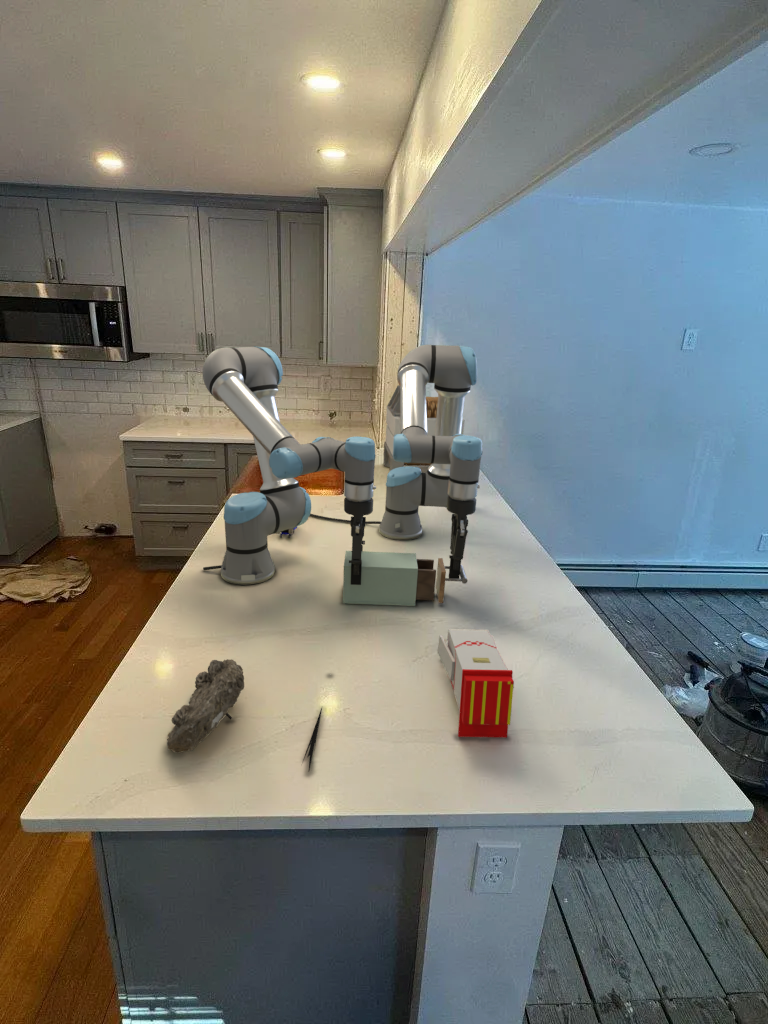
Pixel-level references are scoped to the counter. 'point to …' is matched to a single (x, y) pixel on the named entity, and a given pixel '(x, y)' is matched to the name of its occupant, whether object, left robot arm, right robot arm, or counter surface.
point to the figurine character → (287, 532)
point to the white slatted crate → (394, 427)
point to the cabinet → (382, 579)
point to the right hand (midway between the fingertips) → (453, 578)
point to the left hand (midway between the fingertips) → (356, 575)
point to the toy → (478, 682)
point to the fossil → (206, 705)
